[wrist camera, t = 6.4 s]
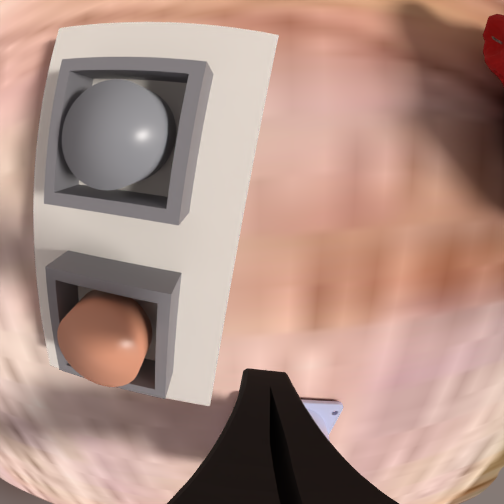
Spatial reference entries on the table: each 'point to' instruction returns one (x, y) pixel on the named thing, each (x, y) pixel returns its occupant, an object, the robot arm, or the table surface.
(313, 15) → the table surface
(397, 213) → the table surface
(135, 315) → the terracotta button
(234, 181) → the button panel
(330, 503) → the robot arm
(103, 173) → the grey low dome
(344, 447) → the table surface
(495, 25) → the white red irregular piece
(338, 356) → the table surface
